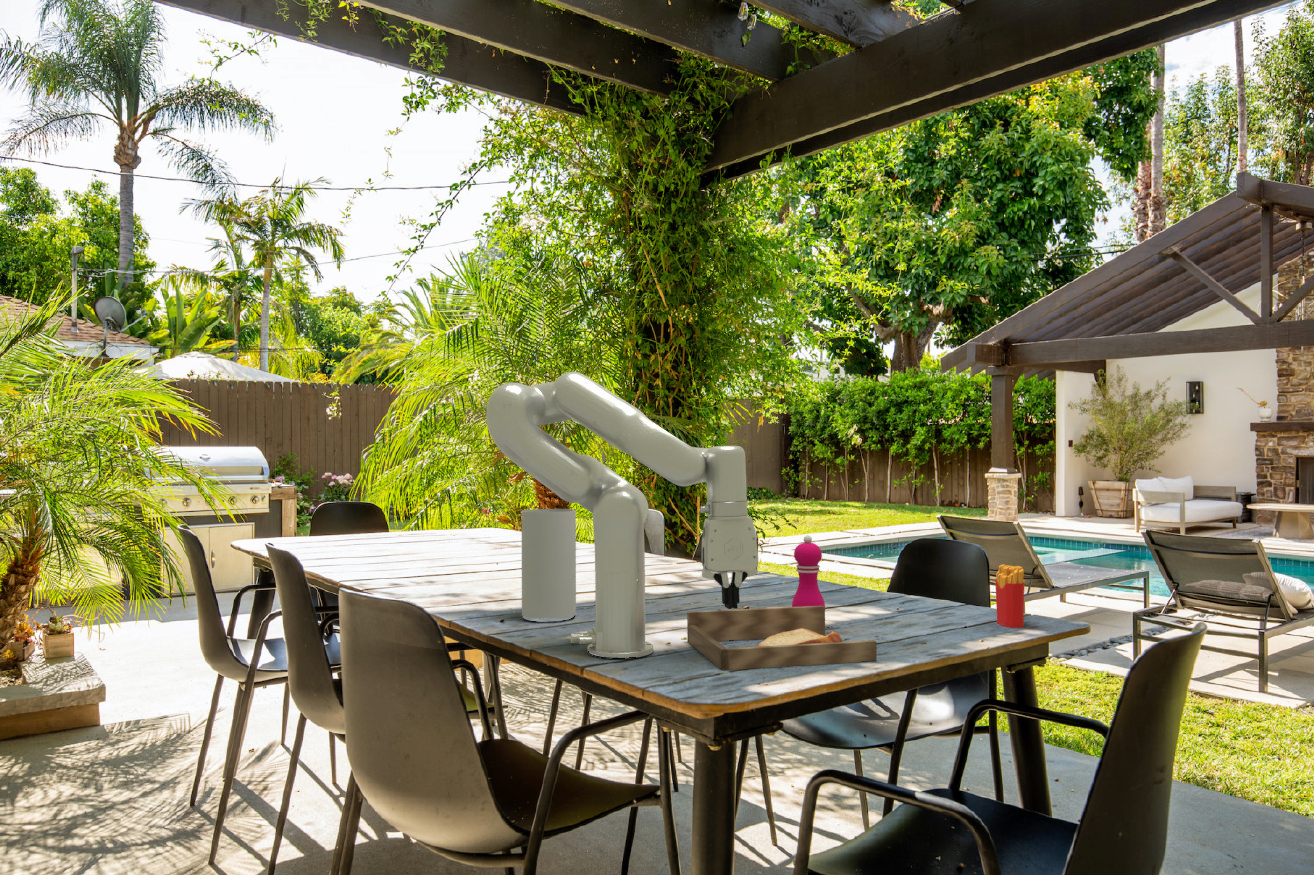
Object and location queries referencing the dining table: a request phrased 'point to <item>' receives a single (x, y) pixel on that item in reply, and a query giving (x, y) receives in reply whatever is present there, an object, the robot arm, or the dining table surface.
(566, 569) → the cylinder vase
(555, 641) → the dining table surface
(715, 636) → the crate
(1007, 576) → the french fries
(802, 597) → the pepper mill
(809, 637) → the bread slice
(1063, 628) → the dining table surface
